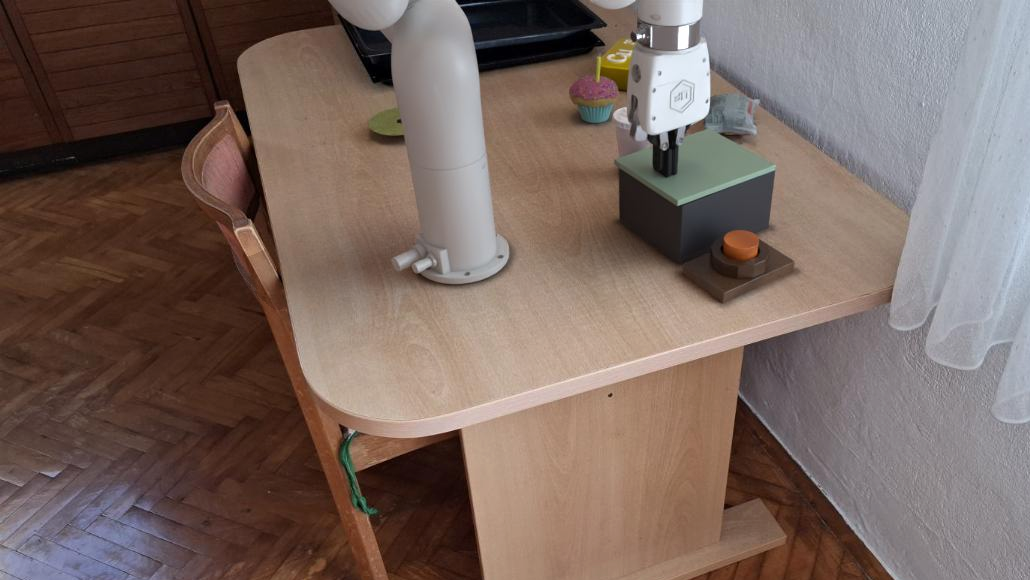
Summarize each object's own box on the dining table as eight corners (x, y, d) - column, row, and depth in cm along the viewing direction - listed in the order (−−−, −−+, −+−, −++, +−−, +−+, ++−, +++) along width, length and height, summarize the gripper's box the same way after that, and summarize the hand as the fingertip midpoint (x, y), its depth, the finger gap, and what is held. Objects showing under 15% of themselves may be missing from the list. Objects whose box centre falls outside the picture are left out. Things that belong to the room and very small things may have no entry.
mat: (417, 149, 140) (415, 138, 139) (357, 140, 143) (355, 129, 142) (448, 120, 148) (446, 110, 147) (391, 113, 151) (389, 102, 150)
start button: (738, 265, 106) (739, 252, 105) (715, 250, 109) (716, 237, 108) (764, 254, 108) (766, 241, 107) (741, 239, 111) (742, 226, 110)
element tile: (671, 97, 154) (672, 71, 151) (593, 87, 158) (593, 61, 155) (693, 67, 165) (694, 42, 162) (620, 58, 169) (620, 34, 166)
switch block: (722, 303, 106) (725, 280, 103) (682, 274, 111) (683, 250, 108) (793, 271, 111) (797, 248, 108) (751, 244, 116) (754, 221, 114)
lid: (677, 206, 106) (677, 200, 106) (613, 164, 115) (613, 159, 115) (775, 170, 113) (776, 164, 113) (708, 133, 122) (708, 128, 122)
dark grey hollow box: (679, 265, 112) (682, 206, 107) (618, 221, 121) (618, 164, 116) (768, 228, 119) (775, 170, 114) (704, 188, 128) (708, 133, 122)
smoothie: (650, 185, 129) (652, 96, 120) (609, 181, 130) (607, 93, 122) (656, 165, 134) (659, 79, 125) (616, 162, 135) (616, 76, 126)
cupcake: (628, 119, 147) (629, 50, 140) (588, 132, 144) (585, 62, 136) (600, 103, 153) (599, 36, 145) (560, 115, 149) (557, 47, 142)
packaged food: (758, 115, 148) (761, 87, 145) (755, 145, 139) (757, 117, 136) (708, 112, 149) (709, 85, 146) (701, 143, 140) (702, 114, 137)
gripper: (636, 55, 95) (635, 200, 106) (738, 26, 101) (727, 167, 112) (598, 36, 99) (601, 177, 111) (698, 10, 106) (691, 146, 117)
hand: (664, 171), depth 112 cm, fingers closed
